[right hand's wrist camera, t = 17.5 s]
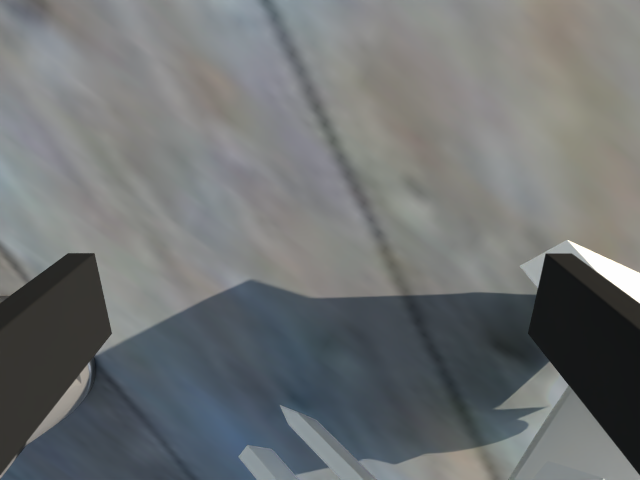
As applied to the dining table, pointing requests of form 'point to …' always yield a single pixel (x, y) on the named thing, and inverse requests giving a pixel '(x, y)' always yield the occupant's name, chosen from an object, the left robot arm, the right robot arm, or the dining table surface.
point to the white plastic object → (545, 449)
